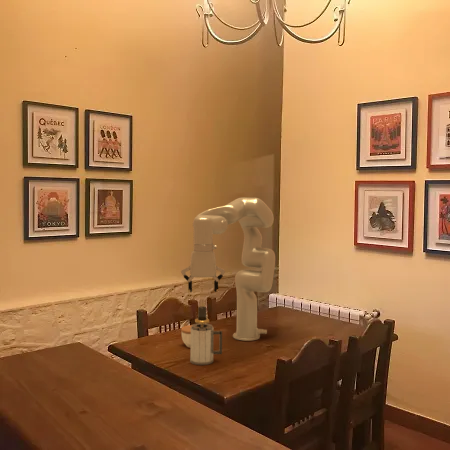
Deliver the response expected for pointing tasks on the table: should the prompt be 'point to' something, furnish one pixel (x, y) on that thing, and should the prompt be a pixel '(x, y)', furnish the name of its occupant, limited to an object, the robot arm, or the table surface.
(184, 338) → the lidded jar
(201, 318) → the plunger
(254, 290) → the robot arm
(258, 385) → the table surface
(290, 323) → the table surface
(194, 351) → the cafetiere
